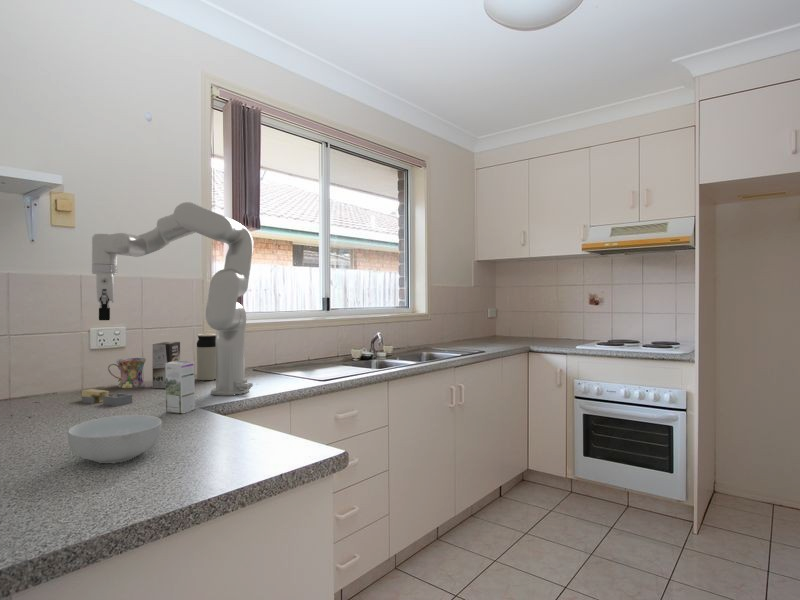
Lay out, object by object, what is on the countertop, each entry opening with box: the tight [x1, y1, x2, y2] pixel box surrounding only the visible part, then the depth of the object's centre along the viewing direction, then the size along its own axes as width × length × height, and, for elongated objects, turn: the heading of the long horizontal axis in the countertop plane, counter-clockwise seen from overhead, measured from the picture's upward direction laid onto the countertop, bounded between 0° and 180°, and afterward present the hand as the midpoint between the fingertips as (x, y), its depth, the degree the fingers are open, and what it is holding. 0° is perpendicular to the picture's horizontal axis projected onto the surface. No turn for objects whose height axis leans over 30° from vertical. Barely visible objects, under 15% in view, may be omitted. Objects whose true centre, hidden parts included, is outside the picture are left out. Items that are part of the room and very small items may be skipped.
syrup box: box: [165, 360, 196, 414], centre depth 142 cm, size 6×6×14 cm
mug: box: [107, 357, 147, 389], centre depth 175 cm, size 12×9×11 cm
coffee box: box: [151, 341, 181, 389], centre depth 181 cm, size 9×6×16 cm
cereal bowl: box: [67, 414, 163, 464], centre depth 102 cm, size 17×17×7 cm
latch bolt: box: [81, 388, 110, 404], centre depth 151 cm, size 8×3×3 cm, turn 67°
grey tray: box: [81, 392, 133, 407], centre depth 149 cm, size 15×24×4 cm, turn 157°
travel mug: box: [196, 333, 216, 381], centre depth 196 cm, size 8×8×18 cm
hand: (104, 319), depth 169 cm, fingers open, 9 cm apart
